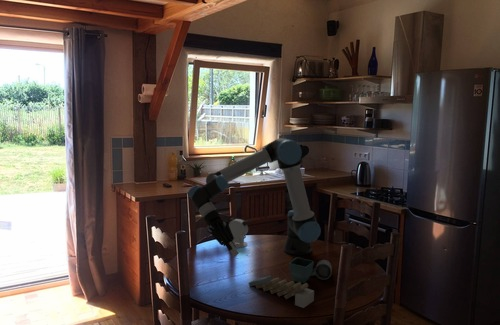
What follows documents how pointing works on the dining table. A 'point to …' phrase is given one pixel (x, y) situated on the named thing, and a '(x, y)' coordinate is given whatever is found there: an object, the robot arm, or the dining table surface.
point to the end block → (304, 297)
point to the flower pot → (301, 269)
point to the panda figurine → (239, 231)
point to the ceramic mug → (322, 270)
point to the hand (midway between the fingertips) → (236, 255)
